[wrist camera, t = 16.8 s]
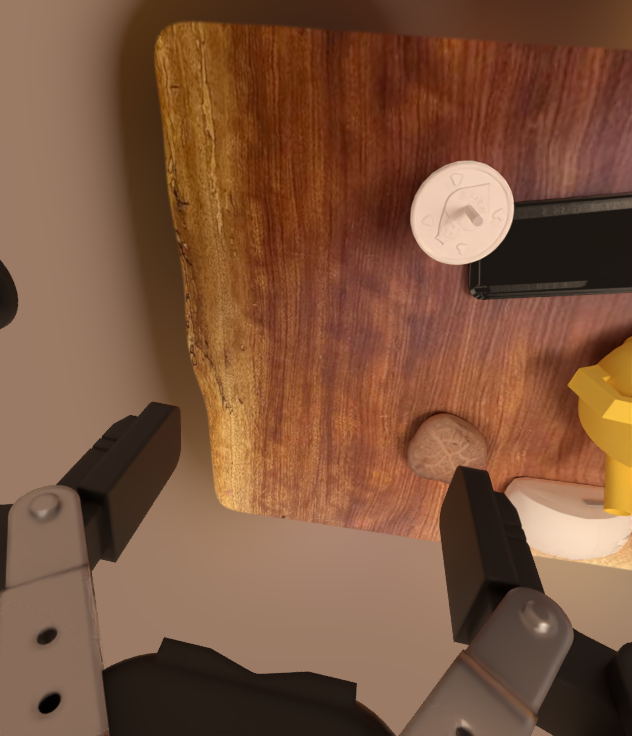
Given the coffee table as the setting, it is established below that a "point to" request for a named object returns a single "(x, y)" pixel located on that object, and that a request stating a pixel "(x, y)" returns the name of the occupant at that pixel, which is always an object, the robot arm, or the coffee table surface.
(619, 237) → the phone
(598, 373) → the teapot
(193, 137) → the coffee table surface
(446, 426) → the mushroom
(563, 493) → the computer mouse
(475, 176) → the smoothie
